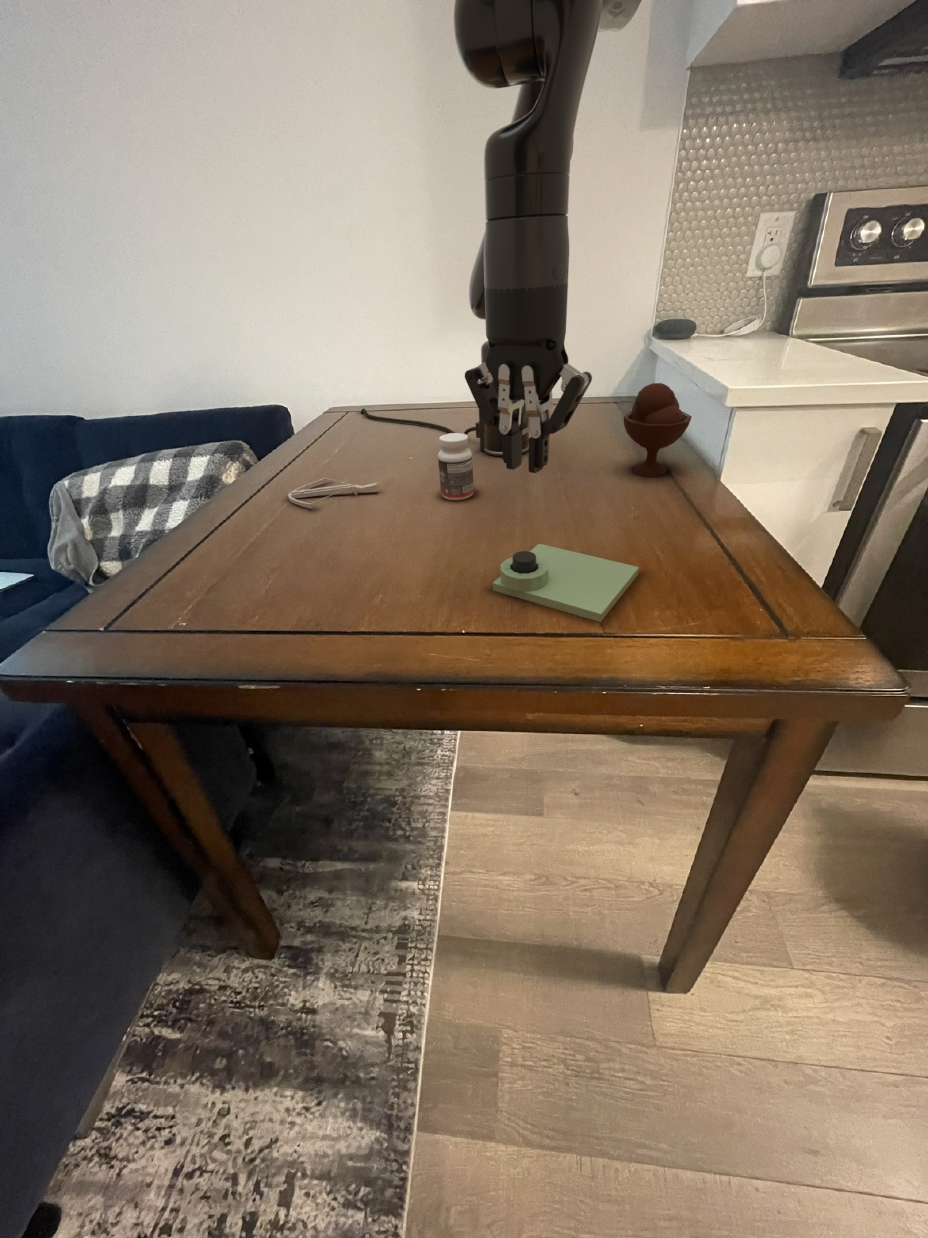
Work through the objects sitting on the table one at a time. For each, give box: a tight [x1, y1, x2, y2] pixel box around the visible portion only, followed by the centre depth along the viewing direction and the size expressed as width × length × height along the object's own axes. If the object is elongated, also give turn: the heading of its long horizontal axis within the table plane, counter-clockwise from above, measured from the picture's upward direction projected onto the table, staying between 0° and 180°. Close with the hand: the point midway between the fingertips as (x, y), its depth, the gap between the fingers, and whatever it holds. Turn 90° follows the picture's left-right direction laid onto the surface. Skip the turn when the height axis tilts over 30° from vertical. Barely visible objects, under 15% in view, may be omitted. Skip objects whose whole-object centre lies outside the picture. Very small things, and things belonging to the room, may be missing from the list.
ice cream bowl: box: [623, 382, 693, 477], centre depth 94 cm, size 11×11×15 cm
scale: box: [492, 543, 640, 623], centre depth 66 cm, size 14×12×3 cm
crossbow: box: [287, 477, 380, 509], centre depth 96 cm, size 16×13×2 cm
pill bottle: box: [437, 432, 475, 501], centre depth 91 cm, size 6×6×10 cm
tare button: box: [512, 550, 536, 574], centre depth 65 cm, size 3×3×2 cm
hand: (524, 468), depth 59 cm, fingers closed
